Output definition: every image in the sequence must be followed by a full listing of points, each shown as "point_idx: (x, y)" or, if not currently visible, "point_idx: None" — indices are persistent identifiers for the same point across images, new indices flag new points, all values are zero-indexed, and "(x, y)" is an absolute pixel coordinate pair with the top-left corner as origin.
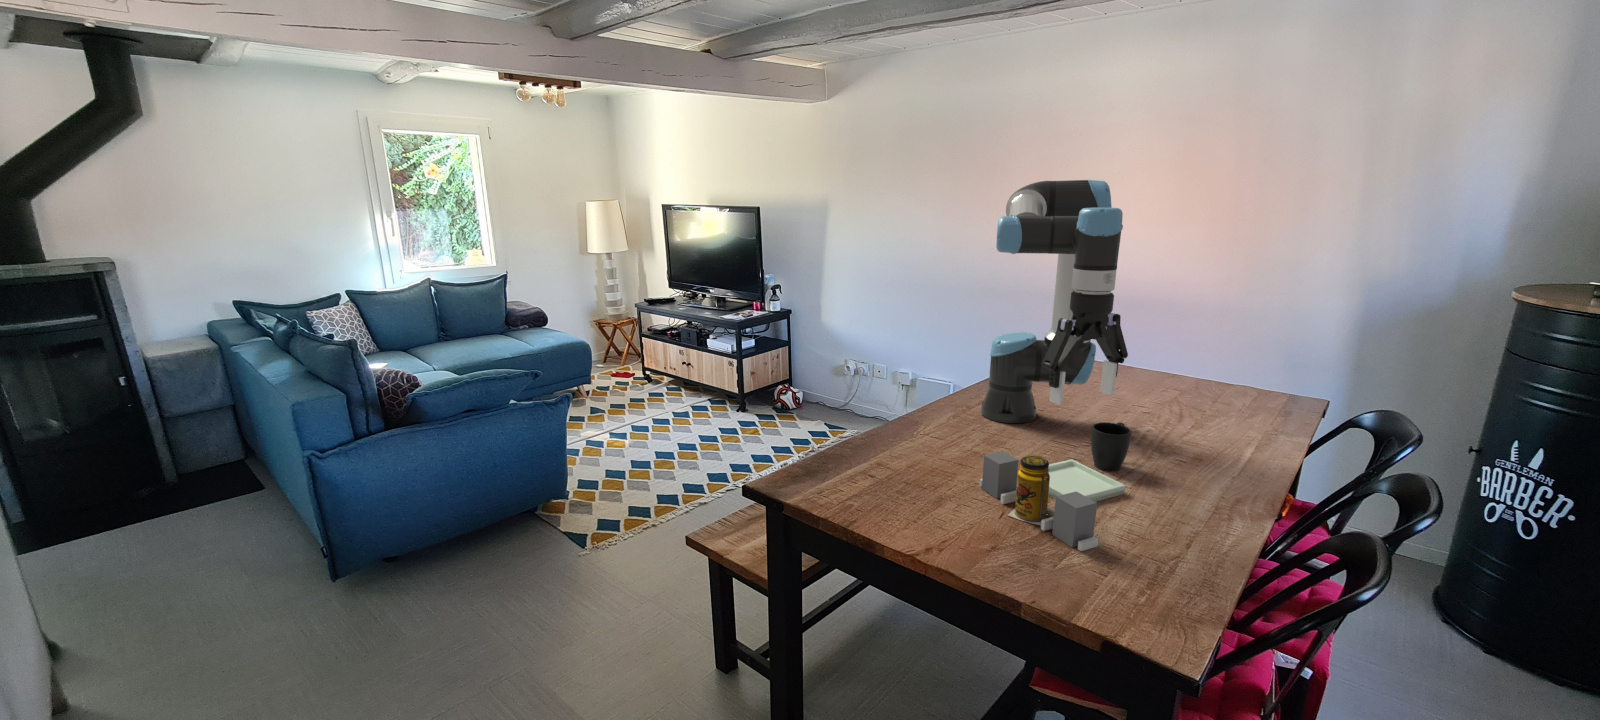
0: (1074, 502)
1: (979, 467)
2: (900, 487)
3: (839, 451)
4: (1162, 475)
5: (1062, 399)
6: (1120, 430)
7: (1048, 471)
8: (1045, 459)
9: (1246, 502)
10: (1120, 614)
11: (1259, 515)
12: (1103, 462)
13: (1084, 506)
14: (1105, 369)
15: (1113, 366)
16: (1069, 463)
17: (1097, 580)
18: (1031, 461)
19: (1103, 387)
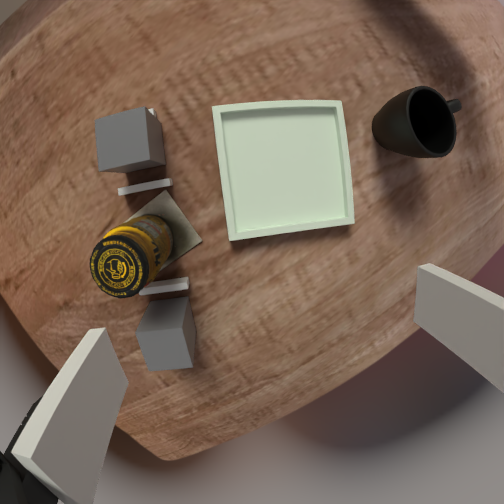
0: (155, 357)
1: (169, 53)
2: (23, 110)
3: (27, 4)
4: (431, 190)
5: (120, 397)
6: (446, 120)
7: (274, 113)
8: (142, 272)
9: None
10: (148, 423)
11: None
12: (380, 138)
13: (165, 369)
14: (497, 329)
15: (502, 385)
16: (329, 107)
17: (154, 388)
18: (108, 269)
19: (432, 290)
